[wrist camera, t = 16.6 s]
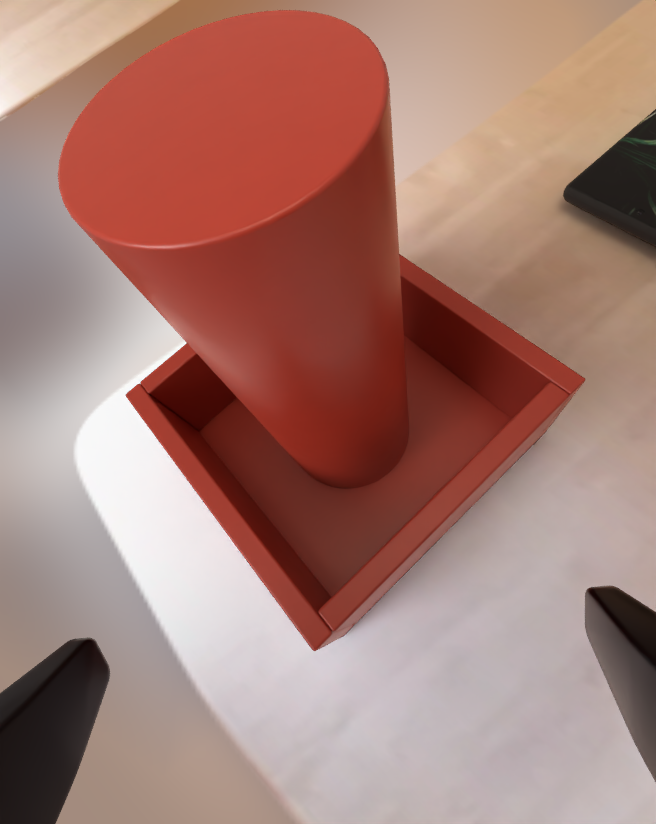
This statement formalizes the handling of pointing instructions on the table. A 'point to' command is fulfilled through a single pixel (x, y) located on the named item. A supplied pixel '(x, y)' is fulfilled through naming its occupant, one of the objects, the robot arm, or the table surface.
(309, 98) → the red cylinder
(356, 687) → the table surface
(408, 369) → the red bin
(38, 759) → the robot arm
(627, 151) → the smartphone
